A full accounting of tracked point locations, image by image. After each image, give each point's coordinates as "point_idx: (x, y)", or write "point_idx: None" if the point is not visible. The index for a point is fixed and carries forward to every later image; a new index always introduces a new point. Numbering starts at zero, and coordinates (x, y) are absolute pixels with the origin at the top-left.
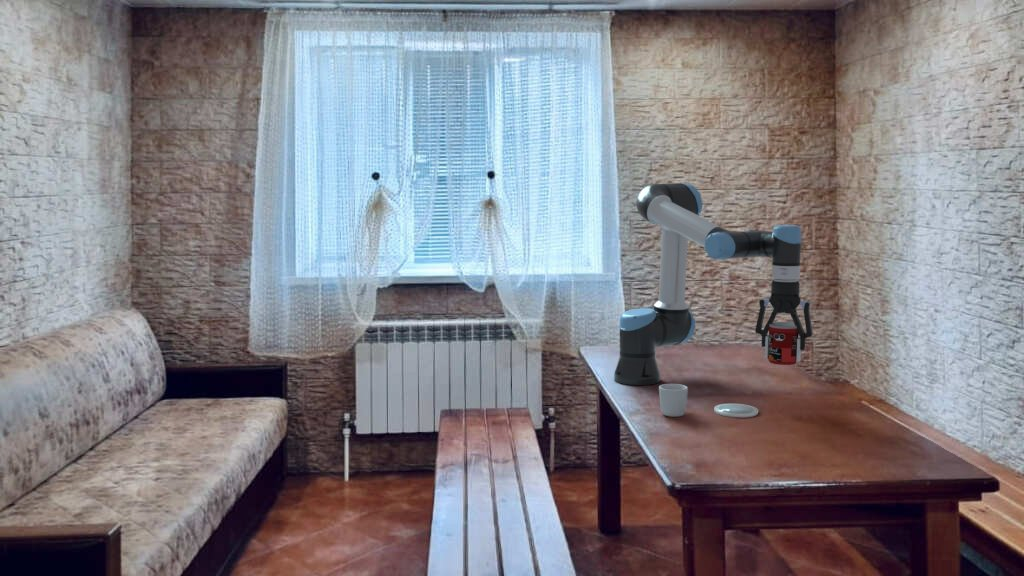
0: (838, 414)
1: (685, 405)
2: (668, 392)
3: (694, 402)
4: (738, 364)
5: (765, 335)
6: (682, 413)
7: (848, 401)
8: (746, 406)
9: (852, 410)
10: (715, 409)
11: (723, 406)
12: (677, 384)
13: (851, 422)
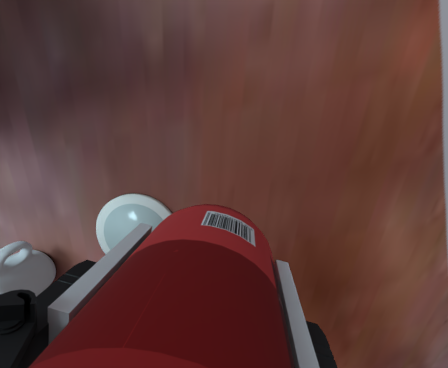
0: (348, 223)
1: (43, 285)
2: None
3: (53, 174)
4: None
5: (38, 355)
6: (52, 281)
7: (419, 89)
8: (155, 217)
9: (394, 184)
10: (100, 244)
11: (111, 224)
12: None
13: (358, 277)
